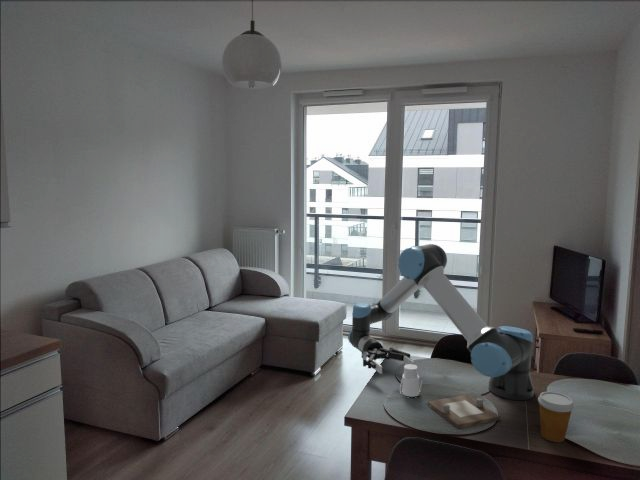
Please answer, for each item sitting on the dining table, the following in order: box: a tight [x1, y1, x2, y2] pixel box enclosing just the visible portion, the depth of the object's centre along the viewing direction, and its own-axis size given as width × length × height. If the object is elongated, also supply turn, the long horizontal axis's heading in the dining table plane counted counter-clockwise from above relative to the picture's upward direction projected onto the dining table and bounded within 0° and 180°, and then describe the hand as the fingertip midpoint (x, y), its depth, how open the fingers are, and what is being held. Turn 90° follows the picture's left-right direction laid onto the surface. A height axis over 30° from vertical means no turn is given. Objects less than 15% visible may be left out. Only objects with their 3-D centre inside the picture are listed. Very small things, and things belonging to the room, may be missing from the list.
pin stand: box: [427, 394, 501, 429], centre depth 155 cm, size 16×16×3 cm
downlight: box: [399, 364, 423, 396], centre depth 167 cm, size 8×7×10 cm
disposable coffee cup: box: [537, 391, 575, 443], centre depth 140 cm, size 10×10×12 cm
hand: (397, 367), depth 175 cm, fingers open, 13 cm apart
